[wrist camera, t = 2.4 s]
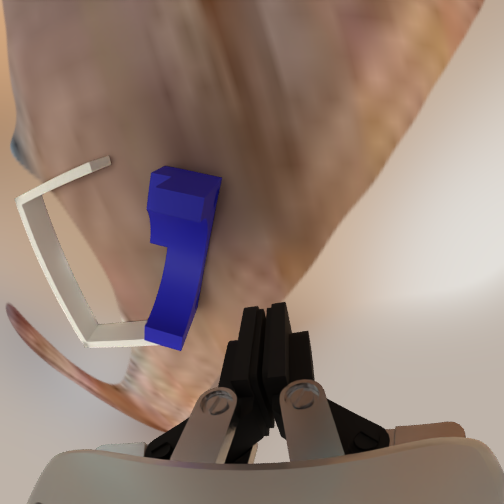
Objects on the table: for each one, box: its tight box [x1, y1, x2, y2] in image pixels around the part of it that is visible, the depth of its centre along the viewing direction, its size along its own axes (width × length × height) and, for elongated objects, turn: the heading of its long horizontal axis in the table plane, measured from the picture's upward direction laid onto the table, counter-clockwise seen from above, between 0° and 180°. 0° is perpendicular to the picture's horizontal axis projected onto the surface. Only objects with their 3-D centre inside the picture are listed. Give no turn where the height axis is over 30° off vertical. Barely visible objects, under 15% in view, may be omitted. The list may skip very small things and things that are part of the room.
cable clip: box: [144, 166, 222, 351], centre depth 22 cm, size 12×4×6 cm, turn 166°
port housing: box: [15, 156, 158, 348], centre depth 24 cm, size 17×10×3 cm, turn 13°
